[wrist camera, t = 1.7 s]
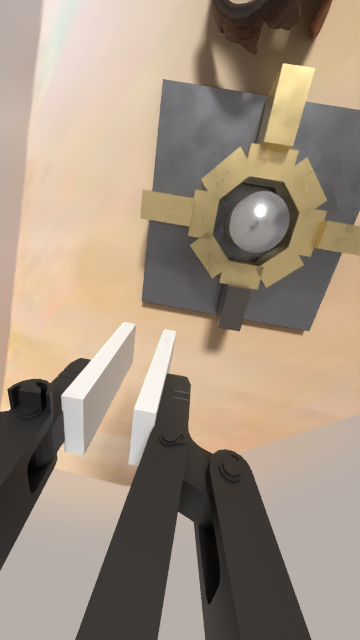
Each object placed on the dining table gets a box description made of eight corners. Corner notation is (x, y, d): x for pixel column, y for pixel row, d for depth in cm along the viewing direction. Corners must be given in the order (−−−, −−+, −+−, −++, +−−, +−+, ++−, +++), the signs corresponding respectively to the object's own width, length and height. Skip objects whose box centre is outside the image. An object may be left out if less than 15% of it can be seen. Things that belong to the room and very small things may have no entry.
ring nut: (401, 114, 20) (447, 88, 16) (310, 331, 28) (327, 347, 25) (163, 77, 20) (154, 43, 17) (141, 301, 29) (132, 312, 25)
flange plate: (390, 121, 21) (464, 78, 15) (305, 327, 30) (332, 352, 24) (164, 85, 22) (151, 30, 16) (143, 299, 30) (129, 315, 24)
